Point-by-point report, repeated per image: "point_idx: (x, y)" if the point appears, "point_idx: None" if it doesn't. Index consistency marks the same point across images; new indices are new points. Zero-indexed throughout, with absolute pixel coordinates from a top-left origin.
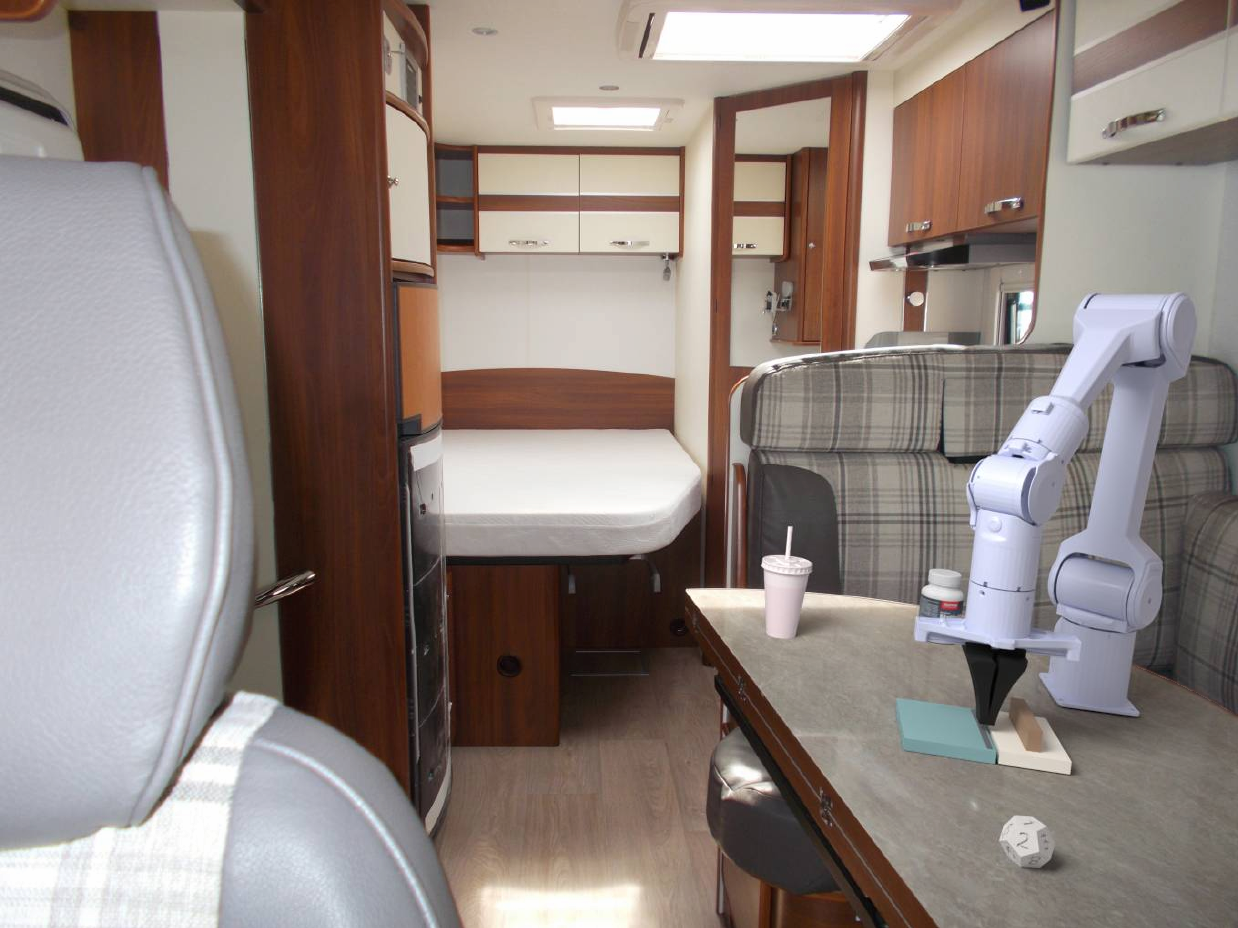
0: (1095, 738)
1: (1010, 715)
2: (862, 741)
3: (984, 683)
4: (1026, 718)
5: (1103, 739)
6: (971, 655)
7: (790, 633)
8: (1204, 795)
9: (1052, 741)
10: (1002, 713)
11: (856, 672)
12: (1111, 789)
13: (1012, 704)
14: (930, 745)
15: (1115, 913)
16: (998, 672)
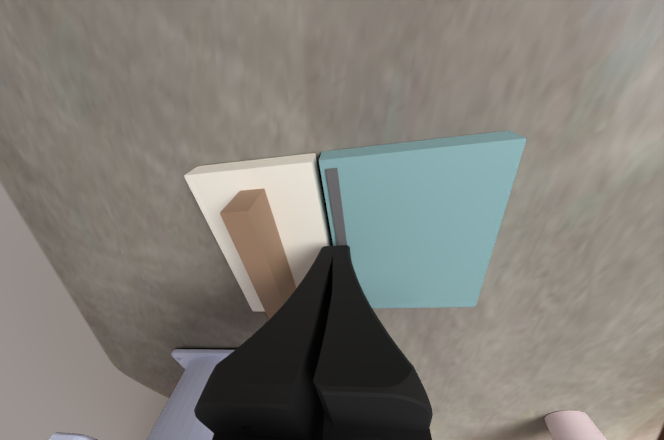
0: (199, 295)
1: None
2: (600, 135)
3: (348, 312)
4: (260, 263)
5: (191, 296)
6: (413, 416)
7: (562, 420)
8: (30, 188)
9: (229, 243)
10: None
11: (492, 364)
12: (131, 143)
13: None
14: (457, 143)
15: None
16: (307, 350)
